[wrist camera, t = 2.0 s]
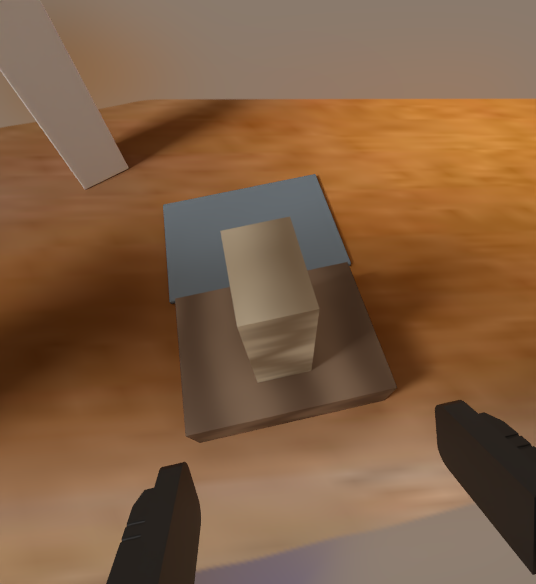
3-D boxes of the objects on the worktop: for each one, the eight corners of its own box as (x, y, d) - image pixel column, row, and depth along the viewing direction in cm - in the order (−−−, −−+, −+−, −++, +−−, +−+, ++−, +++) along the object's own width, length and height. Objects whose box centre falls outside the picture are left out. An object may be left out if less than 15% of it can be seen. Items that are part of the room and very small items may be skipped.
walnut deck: (200, 442, 27) (185, 436, 23) (188, 318, 32) (175, 298, 29) (384, 400, 27) (397, 387, 24) (341, 285, 33) (347, 261, 29)
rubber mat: (171, 303, 33) (169, 301, 33) (164, 207, 40) (163, 204, 39) (350, 265, 34) (350, 263, 34) (315, 176, 40) (315, 174, 40)
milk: (70, 165, 45) (-100, -75, 26) (112, 145, 46) (-19, -97, 27) (85, 191, 42) (-92, -56, 23) (130, 168, 43) (-2, -81, 24)
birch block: (257, 382, 25) (237, 326, 16) (243, 310, 28) (220, 230, 19) (311, 370, 25) (319, 309, 16) (291, 300, 28) (290, 216, 19)
